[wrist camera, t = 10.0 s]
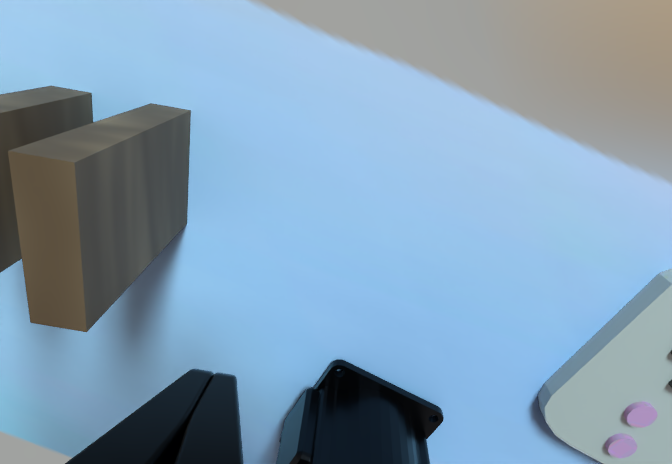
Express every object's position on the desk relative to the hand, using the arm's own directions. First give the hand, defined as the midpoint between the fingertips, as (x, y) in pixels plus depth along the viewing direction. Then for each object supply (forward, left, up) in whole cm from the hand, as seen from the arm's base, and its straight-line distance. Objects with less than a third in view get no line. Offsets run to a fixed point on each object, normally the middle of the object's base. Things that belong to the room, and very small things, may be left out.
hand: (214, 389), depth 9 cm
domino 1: (+5, +2, -12) cm, 13 cm away
